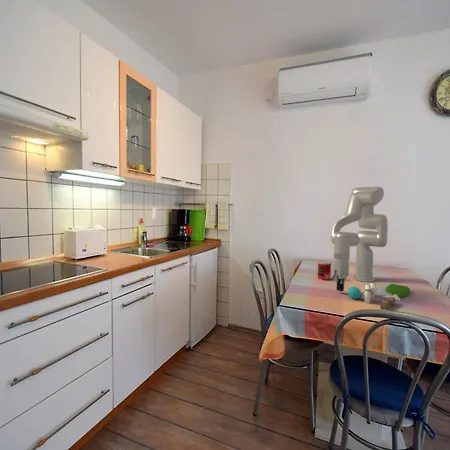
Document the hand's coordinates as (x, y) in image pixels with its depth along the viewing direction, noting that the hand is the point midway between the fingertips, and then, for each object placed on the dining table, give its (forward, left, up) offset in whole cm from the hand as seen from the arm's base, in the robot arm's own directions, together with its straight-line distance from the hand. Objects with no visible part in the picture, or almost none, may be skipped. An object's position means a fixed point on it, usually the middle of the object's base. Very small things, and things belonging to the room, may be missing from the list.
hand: (340, 290), depth 138 cm
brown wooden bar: (0, +23, -2) cm, 23 cm away
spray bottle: (-24, +19, -2) cm, 30 cm away
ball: (+2, +8, +2) cm, 9 cm away
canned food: (-20, -21, -2) cm, 29 cm away
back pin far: (-3, +15, -2) cm, 15 cm away
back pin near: (+2, +15, -2) cm, 15 cm away
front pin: (0, +11, -1) cm, 11 cm away
